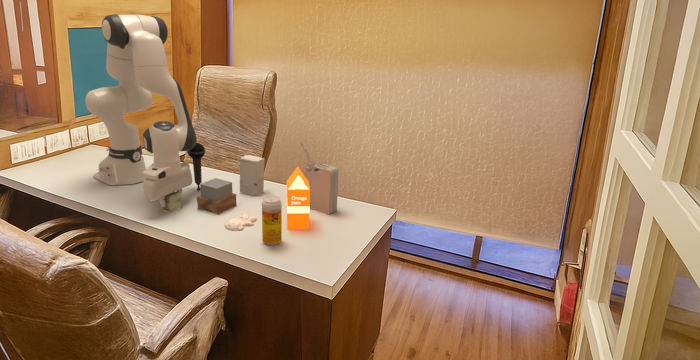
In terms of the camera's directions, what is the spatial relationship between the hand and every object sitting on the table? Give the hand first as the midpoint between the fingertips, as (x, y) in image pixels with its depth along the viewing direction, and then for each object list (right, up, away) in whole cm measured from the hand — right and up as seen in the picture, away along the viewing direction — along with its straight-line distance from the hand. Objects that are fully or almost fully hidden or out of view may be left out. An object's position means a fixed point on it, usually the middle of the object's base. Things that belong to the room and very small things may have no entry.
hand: (170, 203), depth 173 cm
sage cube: (0, -2, +1) cm, 2 cm away
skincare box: (+26, +3, +20) cm, 33 cm away
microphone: (+4, +4, +19) cm, 20 cm away
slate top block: (+16, +3, +2) cm, 17 cm away
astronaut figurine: (+28, -7, -8) cm, 29 cm away
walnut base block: (+16, -2, +4) cm, 17 cm away
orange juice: (+47, -7, -6) cm, 48 cm away
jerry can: (+53, -2, +8) cm, 54 cm away
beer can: (+40, -12, -19) cm, 46 cm away
